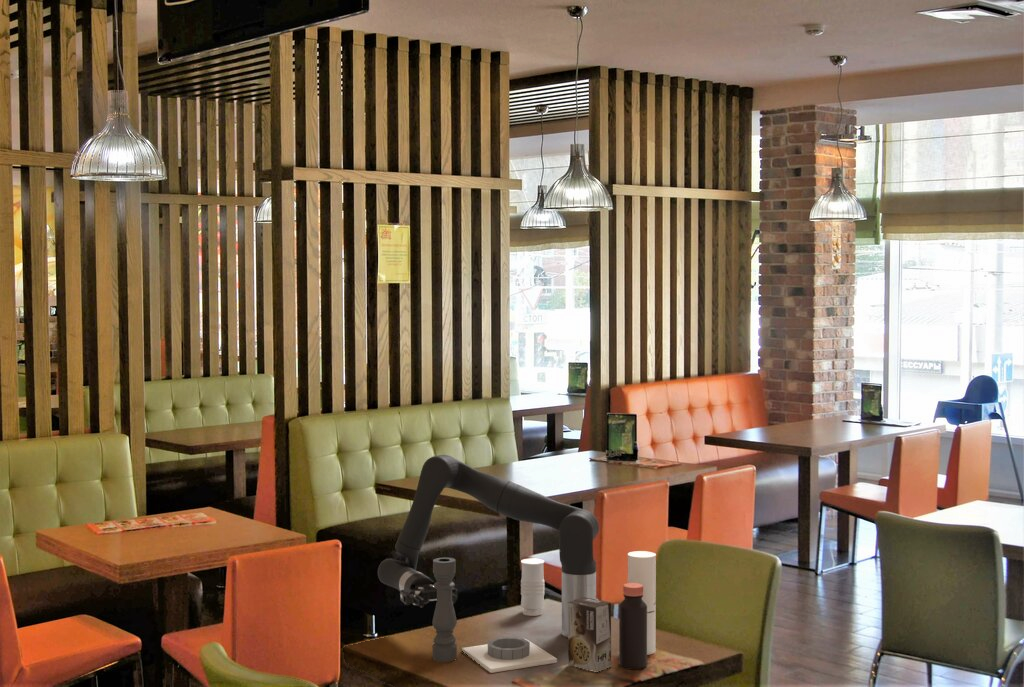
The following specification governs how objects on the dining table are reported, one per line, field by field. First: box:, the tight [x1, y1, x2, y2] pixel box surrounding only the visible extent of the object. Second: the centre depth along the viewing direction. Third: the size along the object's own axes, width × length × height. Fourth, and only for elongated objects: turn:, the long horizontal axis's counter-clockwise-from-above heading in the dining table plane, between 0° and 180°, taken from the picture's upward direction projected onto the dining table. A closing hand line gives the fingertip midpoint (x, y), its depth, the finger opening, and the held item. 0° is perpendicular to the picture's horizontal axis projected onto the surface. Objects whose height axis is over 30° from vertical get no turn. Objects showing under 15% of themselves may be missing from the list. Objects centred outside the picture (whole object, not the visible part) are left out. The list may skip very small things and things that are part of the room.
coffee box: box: [567, 597, 612, 672], centre depth 279 cm, size 9×6×16 cm
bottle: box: [618, 582, 648, 670], centre depth 279 cm, size 7×7×20 cm
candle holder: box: [431, 557, 458, 663], centre depth 285 cm, size 6×6×25 cm
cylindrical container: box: [627, 550, 657, 656], centre depth 291 cm, size 7×7×25 cm
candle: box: [520, 557, 546, 617], centre depth 325 cm, size 7×7×15 cm
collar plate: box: [461, 636, 558, 674], centre depth 286 cm, size 18×18×4 cm
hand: (438, 601), depth 288 cm, fingers open, 8 cm apart
